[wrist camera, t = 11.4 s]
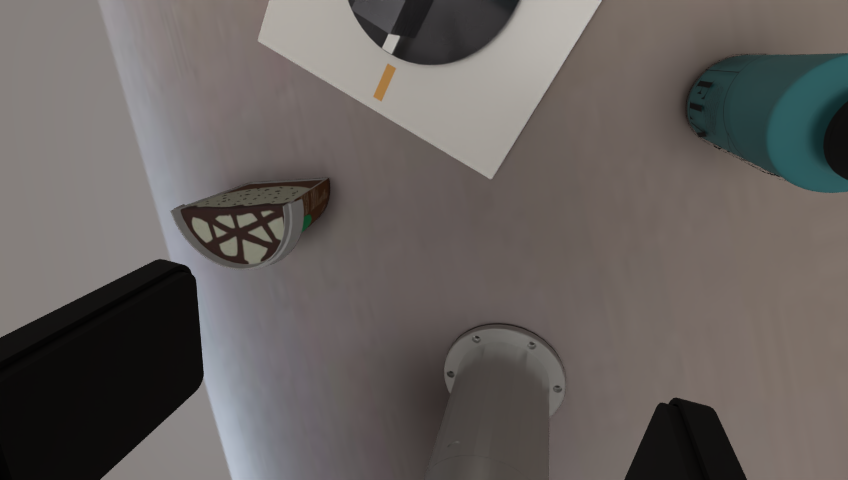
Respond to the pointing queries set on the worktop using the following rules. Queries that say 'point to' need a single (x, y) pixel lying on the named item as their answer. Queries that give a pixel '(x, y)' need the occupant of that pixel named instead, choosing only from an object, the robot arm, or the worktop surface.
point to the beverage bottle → (779, 115)
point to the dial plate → (436, 72)
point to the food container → (252, 221)
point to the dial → (433, 27)
